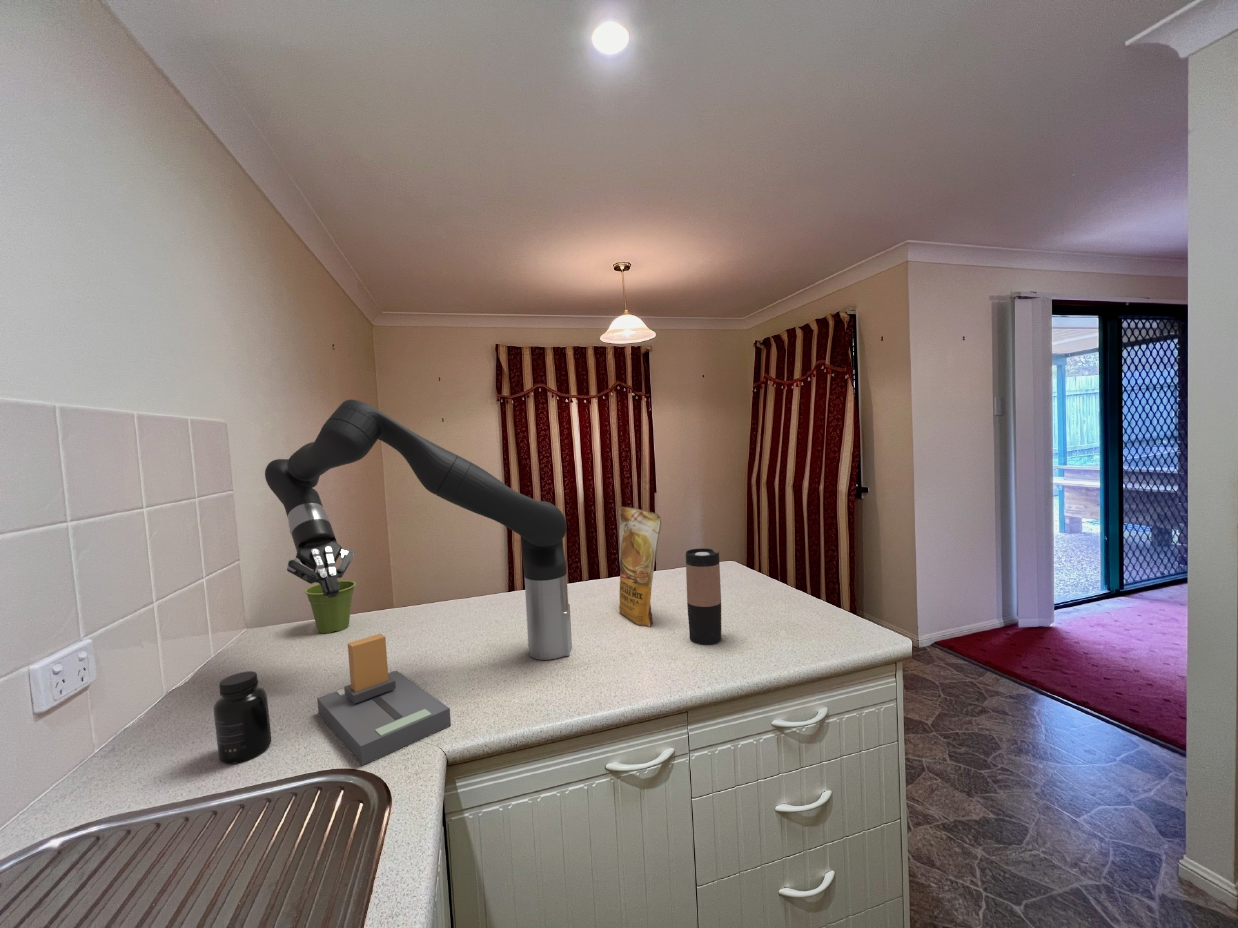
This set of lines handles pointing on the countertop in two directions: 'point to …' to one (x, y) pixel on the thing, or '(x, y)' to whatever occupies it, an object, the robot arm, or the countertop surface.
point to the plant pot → (331, 607)
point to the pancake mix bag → (637, 562)
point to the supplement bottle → (241, 718)
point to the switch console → (384, 719)
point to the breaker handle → (368, 669)
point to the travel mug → (703, 596)
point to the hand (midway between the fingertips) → (333, 594)
